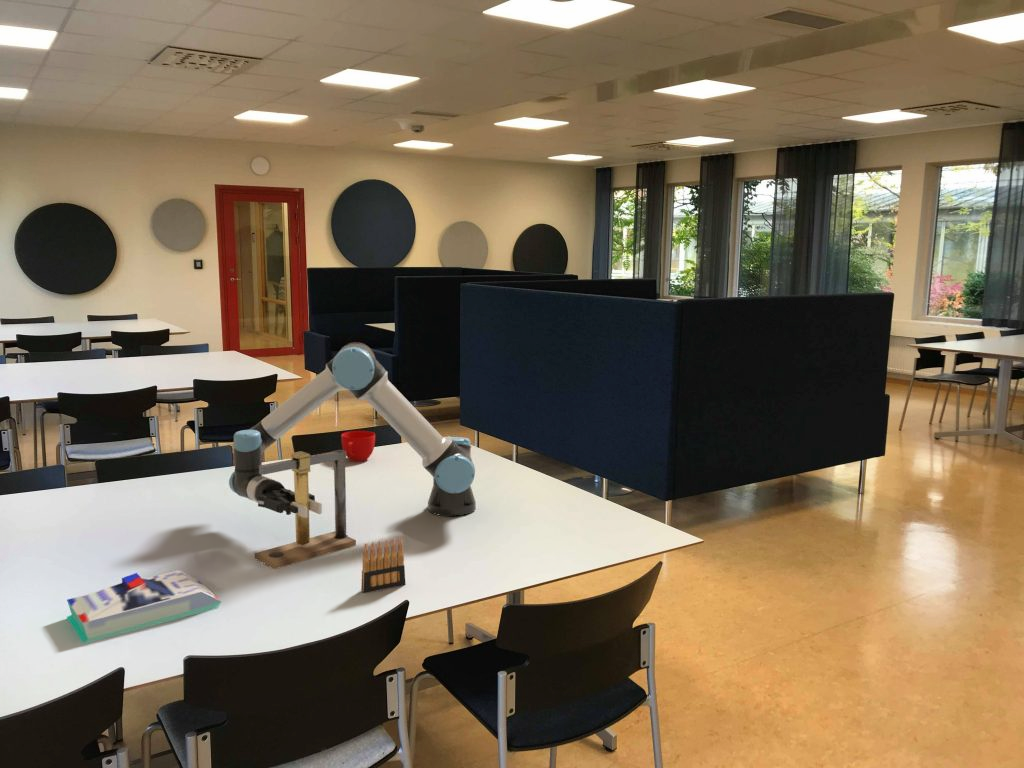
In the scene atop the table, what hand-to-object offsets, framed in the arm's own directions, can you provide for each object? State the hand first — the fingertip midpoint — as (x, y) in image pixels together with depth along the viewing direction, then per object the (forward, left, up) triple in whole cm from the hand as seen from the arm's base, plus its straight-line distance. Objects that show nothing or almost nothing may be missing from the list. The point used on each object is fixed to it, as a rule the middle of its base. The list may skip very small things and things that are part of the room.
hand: (313, 510), depth 214 cm
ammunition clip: (-19, +20, -13) cm, 31 cm away
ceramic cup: (-2, -101, -13) cm, 102 cm away
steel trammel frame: (+3, -5, -12) cm, 13 cm away
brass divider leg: (+4, -4, -11) cm, 12 cm away
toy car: (+33, +31, -14) cm, 47 cm away
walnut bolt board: (+3, -5, -13) cm, 14 cm away
